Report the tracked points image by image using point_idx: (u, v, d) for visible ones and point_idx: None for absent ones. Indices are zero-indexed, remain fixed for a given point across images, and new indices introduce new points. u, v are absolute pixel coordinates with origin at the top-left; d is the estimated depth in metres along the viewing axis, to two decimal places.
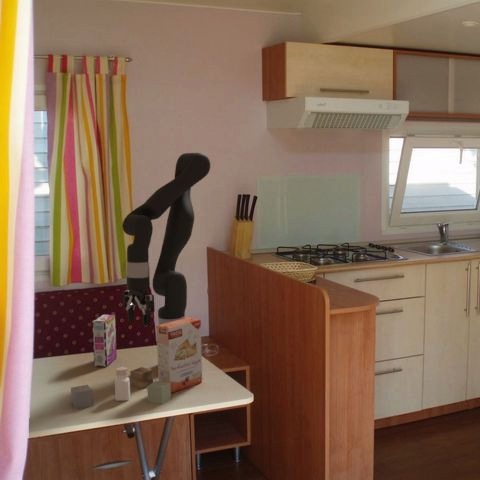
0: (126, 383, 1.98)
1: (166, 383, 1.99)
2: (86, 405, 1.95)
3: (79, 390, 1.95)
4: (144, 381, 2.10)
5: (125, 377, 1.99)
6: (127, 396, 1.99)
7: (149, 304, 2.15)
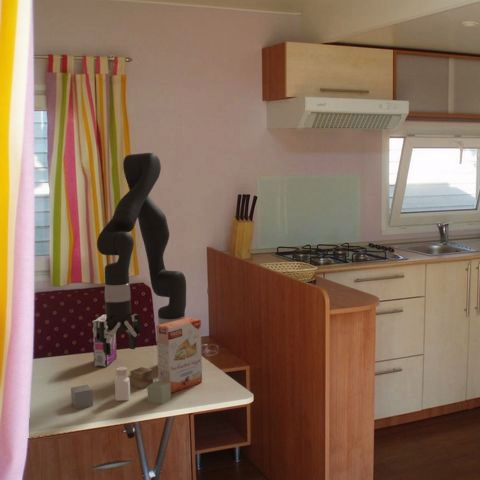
0: (126, 383, 1.98)
1: (166, 383, 1.99)
2: (86, 405, 1.95)
3: (79, 390, 1.95)
4: (144, 381, 2.10)
5: (125, 377, 1.99)
6: (127, 396, 1.99)
7: None
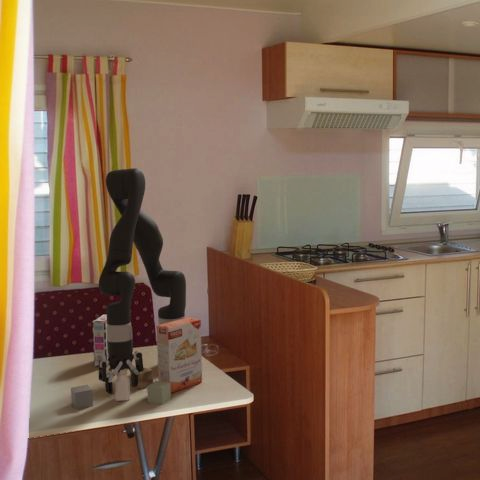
0: (126, 383, 1.98)
1: (166, 383, 1.99)
2: (86, 405, 1.95)
3: (79, 390, 1.95)
4: (144, 381, 2.10)
5: (125, 377, 1.99)
6: (127, 396, 1.99)
7: None
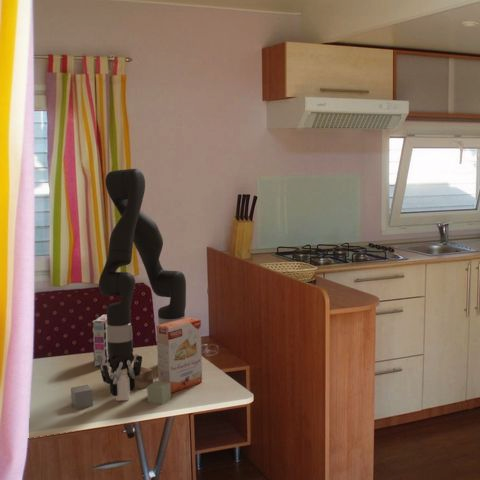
0: (126, 383, 1.98)
1: (166, 383, 1.99)
2: (86, 405, 1.95)
3: (79, 390, 1.95)
4: (144, 381, 2.10)
5: (125, 377, 1.99)
6: (127, 396, 1.99)
7: None
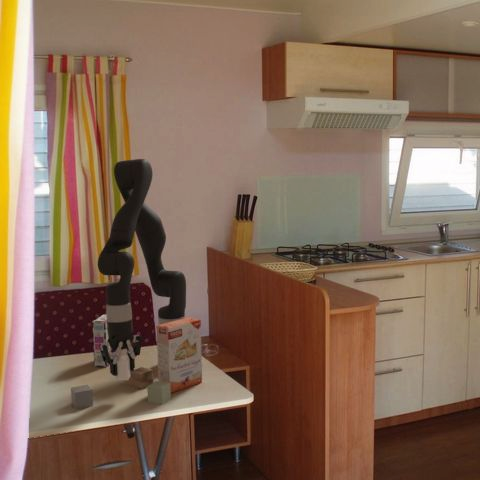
0: (126, 363, 1.98)
1: (166, 383, 1.99)
2: (86, 405, 1.95)
3: (79, 390, 1.95)
4: (144, 381, 2.10)
5: (125, 357, 1.99)
6: (127, 376, 1.98)
7: None
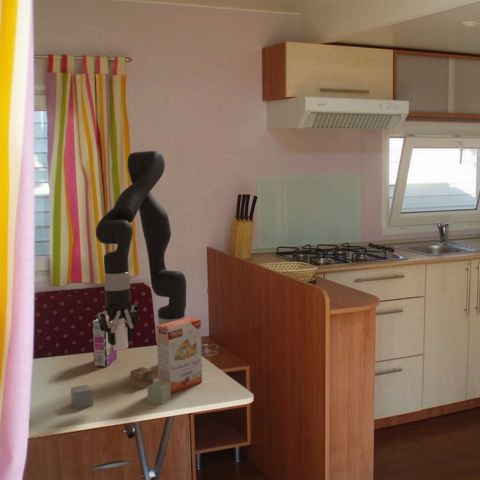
0: (124, 332, 1.97)
1: (166, 383, 1.99)
2: (86, 405, 1.95)
3: (79, 390, 1.95)
4: (144, 381, 2.10)
5: (123, 326, 1.98)
6: (125, 345, 1.98)
7: None
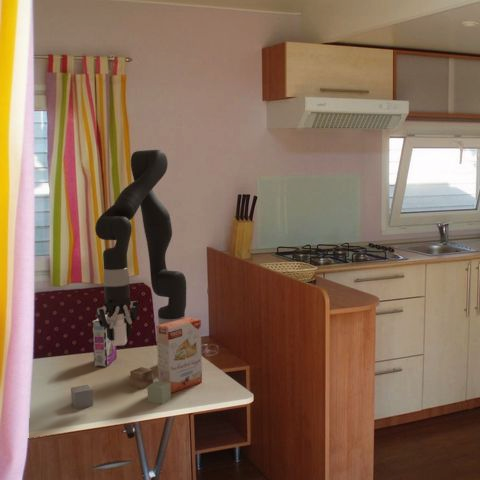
0: (123, 328, 1.99)
1: (166, 383, 1.99)
2: (86, 405, 1.95)
3: (79, 390, 1.95)
4: (144, 381, 2.10)
5: (122, 322, 1.99)
6: (124, 341, 1.99)
7: None
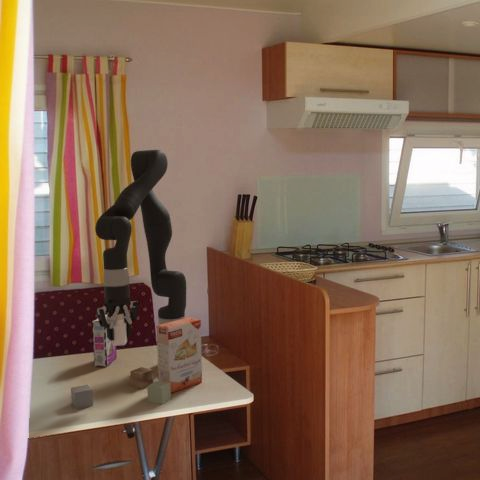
0: (123, 328, 1.99)
1: (166, 383, 1.99)
2: (86, 405, 1.95)
3: (79, 390, 1.95)
4: (145, 381, 2.10)
5: (122, 322, 1.99)
6: (124, 341, 1.99)
7: None
